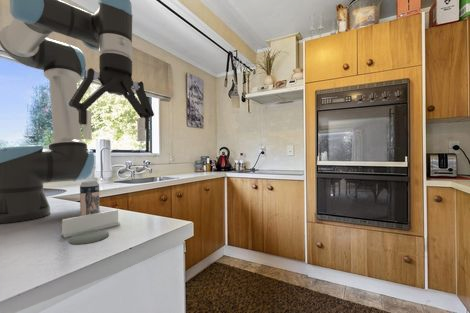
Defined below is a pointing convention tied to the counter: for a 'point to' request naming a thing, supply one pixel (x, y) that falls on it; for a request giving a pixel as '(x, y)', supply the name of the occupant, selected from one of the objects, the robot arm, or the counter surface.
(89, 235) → the coaster
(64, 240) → the counter surface
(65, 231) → the divider
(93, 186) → the beer can
